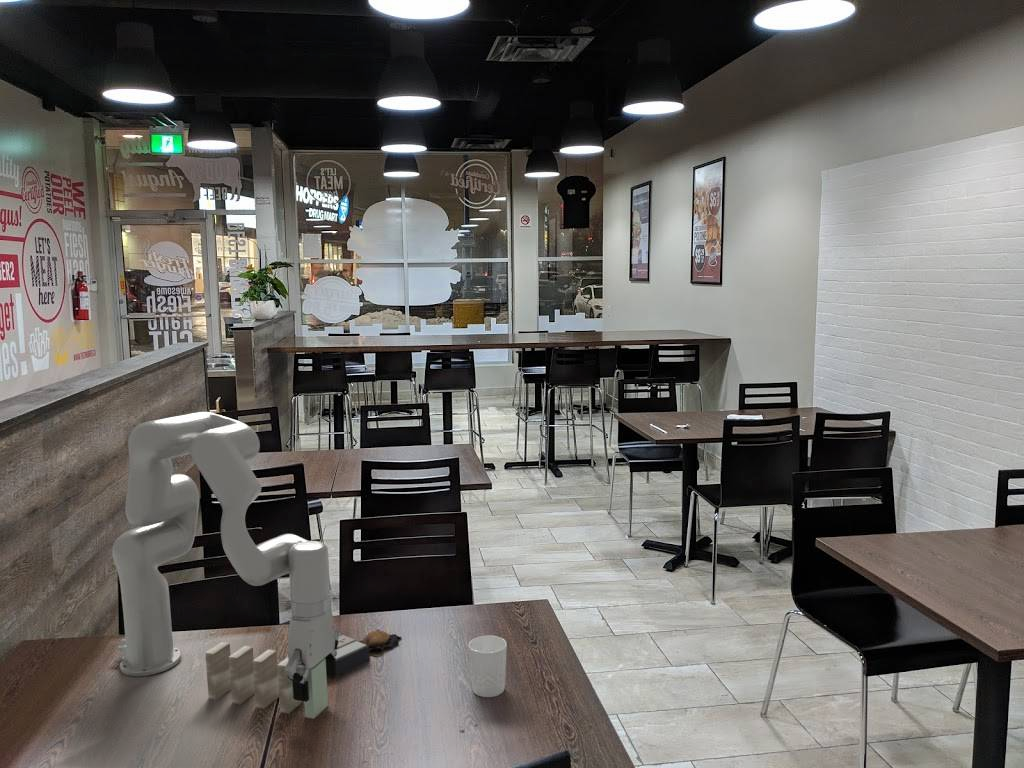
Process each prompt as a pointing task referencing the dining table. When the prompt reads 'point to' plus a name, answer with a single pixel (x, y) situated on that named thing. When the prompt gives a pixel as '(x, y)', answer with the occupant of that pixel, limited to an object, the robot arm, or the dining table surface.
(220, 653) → the domino
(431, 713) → the dining table surface
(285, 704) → the domino
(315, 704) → the domino
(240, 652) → the domino
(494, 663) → the white cup
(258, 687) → the domino
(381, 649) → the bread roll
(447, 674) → the dining table surface
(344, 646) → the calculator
